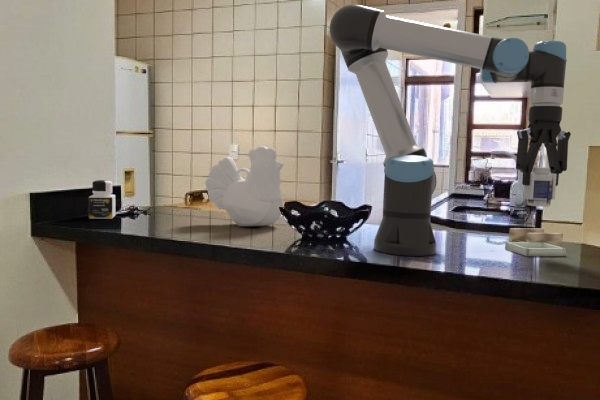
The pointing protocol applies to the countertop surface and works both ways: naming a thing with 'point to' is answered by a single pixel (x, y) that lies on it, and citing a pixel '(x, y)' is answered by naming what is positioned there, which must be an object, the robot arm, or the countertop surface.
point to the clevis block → (535, 236)
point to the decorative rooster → (248, 188)
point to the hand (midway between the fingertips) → (539, 198)
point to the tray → (535, 249)
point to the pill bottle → (541, 187)
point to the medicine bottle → (102, 200)
